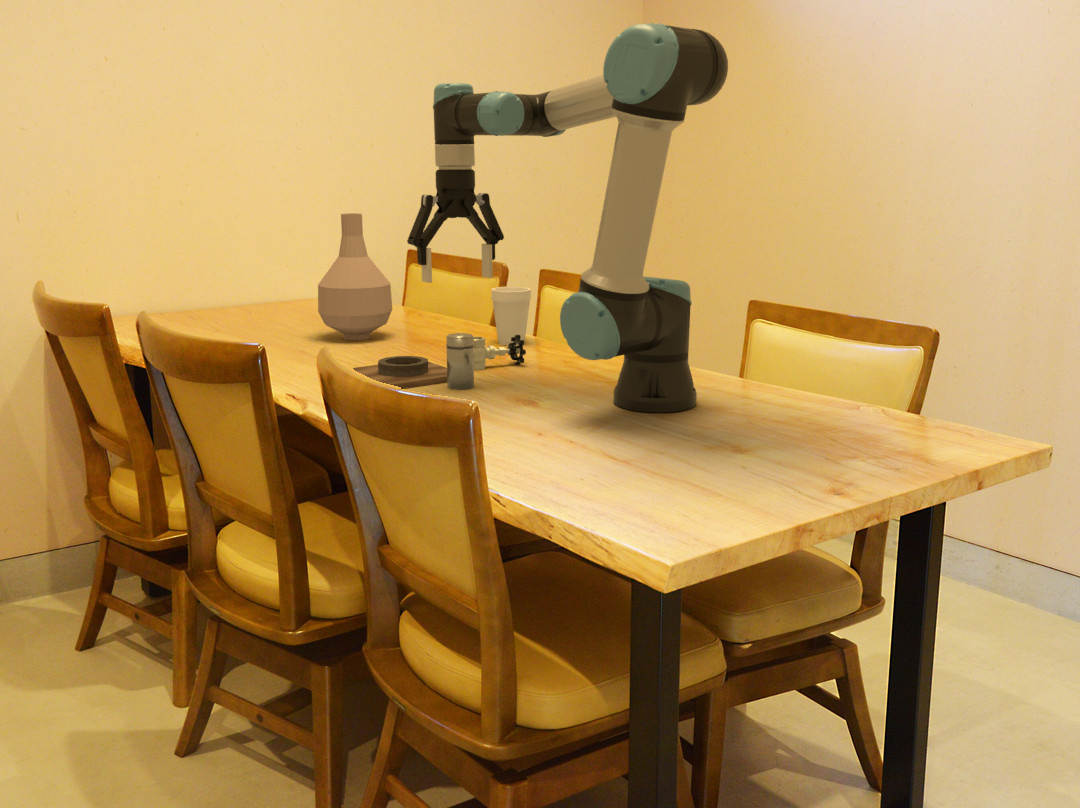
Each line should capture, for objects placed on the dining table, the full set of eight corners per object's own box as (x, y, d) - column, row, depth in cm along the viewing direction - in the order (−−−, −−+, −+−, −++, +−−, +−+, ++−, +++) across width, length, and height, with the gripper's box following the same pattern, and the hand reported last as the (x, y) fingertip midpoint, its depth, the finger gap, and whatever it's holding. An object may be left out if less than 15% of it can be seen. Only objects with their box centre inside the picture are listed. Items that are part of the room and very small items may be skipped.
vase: (400, 341, 246) (396, 215, 239) (327, 346, 240) (320, 217, 233) (383, 329, 262) (379, 211, 255) (314, 334, 256) (308, 212, 248)
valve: (473, 372, 213) (526, 367, 218) (473, 341, 211) (526, 337, 216) (462, 366, 219) (513, 361, 224) (461, 336, 217) (513, 332, 222)
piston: (479, 387, 199) (478, 335, 197) (456, 391, 196) (455, 338, 194) (465, 382, 203) (464, 331, 201) (442, 386, 200) (441, 334, 198)
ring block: (464, 379, 206) (464, 362, 205) (384, 391, 196) (384, 374, 195) (420, 364, 220) (420, 348, 219) (343, 374, 210) (343, 358, 209)
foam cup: (487, 345, 241) (486, 291, 238) (497, 338, 250) (497, 286, 247) (525, 347, 239) (525, 292, 236) (535, 340, 248) (535, 287, 244)
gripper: (499, 167, 204) (501, 273, 210) (387, 168, 191) (391, 282, 196) (520, 167, 198) (521, 276, 204) (405, 169, 185) (409, 286, 190)
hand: (457, 279), depth 200 cm, fingers open, 13 cm apart
